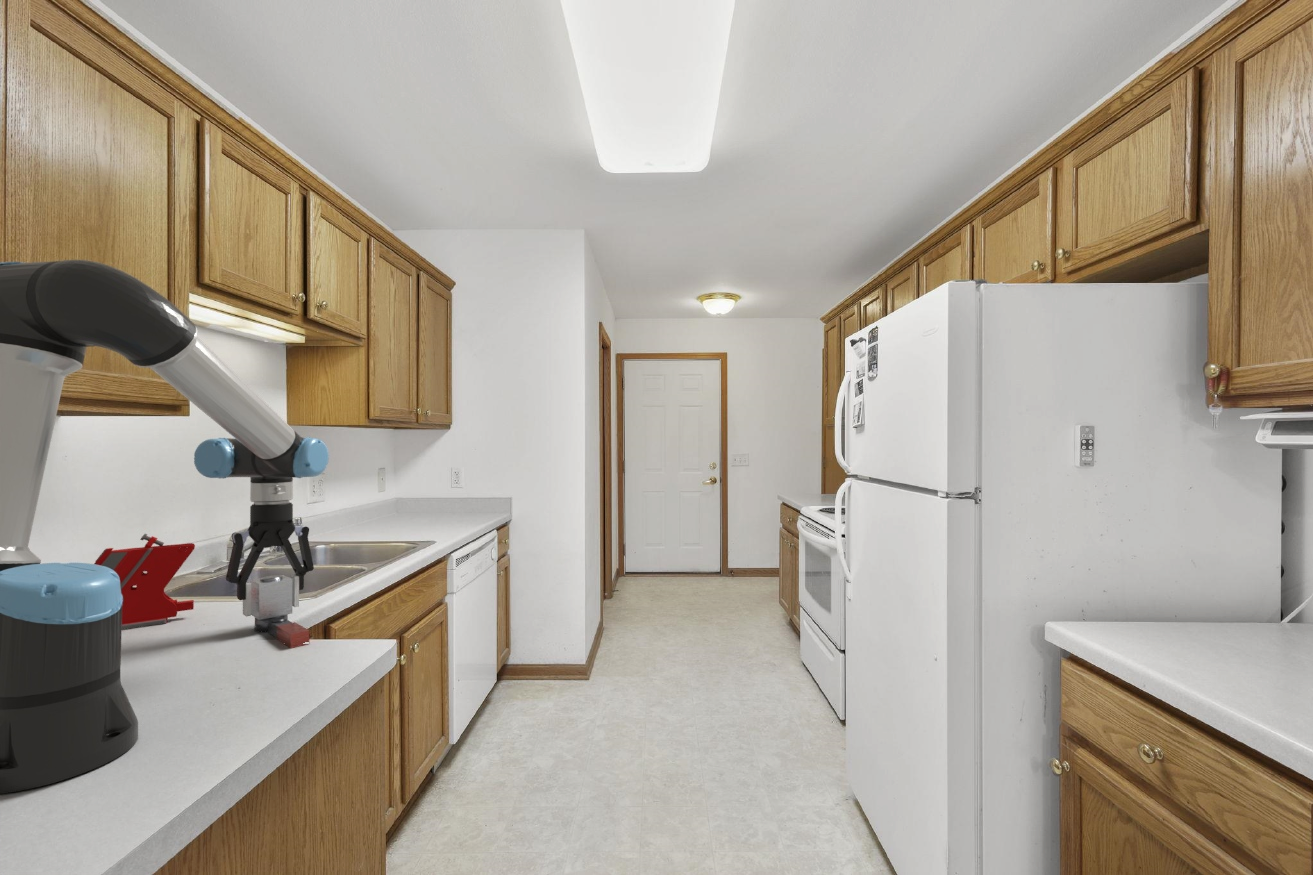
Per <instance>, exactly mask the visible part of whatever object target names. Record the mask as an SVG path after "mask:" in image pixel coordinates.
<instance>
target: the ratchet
mask: <svg viewBox="0 0 1313 875" xmlns="http://www.w3.org/2000/svg"><path fill="white" fill-rule="evenodd" d="M288 616H289V614H287V615H282V616H277V617H272V618H267V619H262V620H258V619H257V618H255V617H254V632H256V633H268V634H269V635H271V636H273V637H274V638H276V640H278V641H279V642H280V643H282V644H283V643H285V644H284V645H285V646H286V647H289V649H294V648H297V647H302V646H307V645H308V644H303V643H305V642H309V643H310V630H309V628H306V627H304V626H303V625H301V624H299V623H297V622H295V621H294V622H292V621H290V620H288V619H289V618H288Z"/></svg>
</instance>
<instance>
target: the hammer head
mask: <svg viewBox="0 0 1313 875" xmlns="http://www.w3.org/2000/svg"><path fill="white" fill-rule="evenodd" d="M249 583H250V584H251V616H252V617H254V619H255V618H257V619H258V620H262V619H267V618H272V617H277V616H282V615H287V614H288V615H292V614H293V606H292V578H291V577H289V576H286V575H284V574H276V575H267V576H262V577H258V578H252V579H250V582H249Z"/></svg>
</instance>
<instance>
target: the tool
mask: <svg viewBox="0 0 1313 875" xmlns="http://www.w3.org/2000/svg"><path fill="white" fill-rule="evenodd" d="M140 540H141V541H144V540H145V541H147V542H146V543H145V545H144V547H143V546H142V547H131V548H122V549H121V548H120V549H114V547H108V548H105V549H104V550H103V551H102V552H101V553H100V555H99V556H98V557H97V558H96V560H95V562H94V563H93V564H96V565H101V566H105V567H108V568H110V569H112V570H114V571H115V572H116V573H117V574H118V576H119V578H120V587H121V594H122V596H123V602H122V603H123V605H122V631H124V630H132V629H137V628H138V629H139V628H145V627H150V626H151V627H153V626H158V625H164V624H167V622H168V619H170V618H175V617H177V615H178V612H183V611H184V612H185V611H191V610H194V607H195V605H194V604H195V603H194V599H190V600H183V601H178V599H173V598H172V597H171V596H169V594H168V595H167V593H166V592H165V589H166V587H167V586H168V585H169V583H170V582H171V580H172V579H173V578H174V576H175V575H176V573H178V571H179V570H180V568H181V567H182V566H183V565H184V563H185V562H186V561H187V560H188V558H189V557H190V556H191V554H192V552H193V551H194V550H195V548H196V545H195V544H194V543H193V542H192V543H191V542H190V543H177V544H176V543H175V544H165V542H163V541H161V540H158V538H157V537H155V536H154V535H153V536H151V537H150V536H148V534H147V533H144V534H143V535H142V536H141V538H140ZM154 544H155V545H156V546H155V545H154ZM164 544H165V545H164ZM153 545H154V546H153ZM145 572H146V573H145Z"/></svg>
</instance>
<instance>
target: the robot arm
mask: <svg viewBox="0 0 1313 875" xmlns="http://www.w3.org/2000/svg"><path fill="white" fill-rule="evenodd" d="M87 347H98V348H103V349H107V350H110V351H113V352H116V353H117V354H118V355H119V354H120V355H121V356H122V357H124V358H125V359H126V360H127V361H129V362H130V363H131V364H133V365H134V366H136V367H139V368H150V369H151V370H152V371H153V372H155V373H156V374H157V375H158V376H160V378H162V379H163V380H164V381H165V382H166V383H167V384H169V385H170V386H171V387H172V388H174V389H175V390H176V391H178V393H180V394H181V395H182V396H184V398H186V399H187V400H188V401H189V402H191V403H192V404H193V405H194V406H195V407H197V408H198V409H199V410H200V411H202V412H203V413H205V414H206V416H207V417H209V418H210V419H211V420H212V421H214V422H215V423H216V424H217V425H219V426H220V427H221V428H222V429H223V430H224V431H226V432H227V433H228V434H229V435H231V436H232V437H233V438H231V437H230V438H226V437H218V438H210V439H206V440H204V441H202V442H201V443H199V445H197V447H196V449H195V451H194V453H193V454H194V455H193V456H194V457H193V459H194V461H193V463H194V467H195V469H196V470H197V472H198V473H199V474H200V475H202V476H204V477H206V478H209V479H226V478H250V479H249V480H250V490H249V491H250V492H249V494H250V496H249V501H250V502H251V503H253V504H251V505H250V508H249V513H250V514H249V519H250V520H249V521H250V522H249V527H248V528H247V530H244V531H241V532H236V531H235V532H233V533H232V534H231V539H232V548H231V552H230V557H229V561H228V567H227V570H226V571H227V572H226V575H225V581H227V582H228V583H231V584H236V598H237V599H238V600H239V601H242V615H243V616H245V617H251V616H252V615H251V584H250V582H248V581H249V578H250V577H251V574H252V572H253V570H254V568H255V566H256V564H257V562H258V560H259V557H260V556H261V553H263V551H264V549H267V548H271V547H280V549H282V551H283V553H284V555H285V557H286V559H287V560H288V562H289V564H290V566H291V568H292V570H293V572H294V574H290V578H292V608H299V607H300V591H303V590H304V588H305V586H304V585H305V575H307V573H309V572H312V571H313V570H314V569H315V567H314V564H313V563H314V561H313V557H312V552H311V547H310V542H309V533H310V527H308V526H305V525H300V526H299V525H298V526H297V525H296V526H295V524H294V522H293V519H294V518H293V517H294V513H293V512H294V510H293V509H294V504H293V503H292V502H290V501H292V500H293V498H294V497H293V496H294V494H293V492H294V490H293V489H294V485H293V483H294V482H293V480H294V479H293V478H297V479H301V478H312V477H317V476H320V475H321V474H323V472H324V471H325V470H326V468H327V465H328V463H329V458H330V457H329V456H330V455H329V449H328V447H327V445H326V444H325V442H324V441H322V440H321V439H318V438H316V437H315V438H313V437H308V436H307V437H302V436H301V435H300V434H299V433H298V432H296V430H294V429H293V428H292V427H291V425H289V424H288V423H287V422H286V421H285V420H284V419H283V418H282V417H281V416H280V415H279V414H278V413H277V412H276V411H275V410H274V409H273V408H272V407H271V406H269V404H267V403H266V402H265V401H264V399H262V397H260V396H259V395H258V393H256V392H255V391H254V390H253V389H252V388H251V387H250V386H249V385H248V384H247V383H246V382H245V381H244V380H243V379H242V378H240V376H239V375H238V374H236V373H235V371H234V370H232V368H230V367H229V366H228V365H227V364H226V363H225V362H224V361H223V360H222V359H221V358H220V357H219V356H218V355H217V354H216V353H215V352H214V351H213V350H211V348H210V347H208V346H207V345H206V344H205V343H204V341H202V340H201V339H200V338H199V337H198V328H197V326H196V325H195V323H194V322H193V321H192V320H191V319H190V318H189V317H188V316H187V315H186V314H185V313H183V312H182V311H181V310H180V309H179V308H178V307H177V306H176V305H175V304H173V303H172V302H171V301H170V300H169V299H168V298H166V297H164V296H163V295H162V294H160V293H159V292H158V291H156V290H155V289H153V288H152V287H151V286H149V285H147V284H146V283H144V282H143V281H141V280H139V279H138V278H137V277H135V276H133V275H131V274H129V273H127V272H125V271H123V270H121V269H118V268H117V267H113V266H111V265H108V264H105V263H102V262H98V261H94V260H93V261H92V260H85V259H64V260H55V261H54V260H53V261H36V262H34V261H33V262H31V261H30V262H22V261H2V262H0V794H8V792H9V793H15V792H20V791H27V790H31V789H36V788H40V787H42V786H47V785H50V784H51V785H52V784H54V783H55V784H56V783H57V782H61V781H65V780H68V779H70V778H72V777H78V776H79V775H82V774H84V773H87V772H89V771H92V770H94V769H97V768H99V767H102V766H103V765H106V764H108V763H109V762H111V761H113V760H115V759H117V758H119V757H121V756H122V755H123V754H125V753H126V752H128V751H129V750H131V748H133V746H134V745H136V743H137V741H138V739H139V720H138V717H137V715H136V713H135V711H134V709H133V706H132V704H131V702H130V700H129V697H128V696H127V693H126V692H125V689H124V687H123V685H122V682H121V679H122V678H121V664H122V631H123V630H122V605H123V603H122V602H123V596H122V594H121V587H120V578H119V576H118V574H117V573H116V572H115V571H114V570H112V569H110V568H108V567H105V566H101V565H96V564H94V563H87V562H65V563H62V562H45V563H41V561H42V559H41V558H39V557H38V556H37V555H36V554H34V552H32V551H31V550H30V548H29V543H30V537H31V534H32V529H33V525H34V520H35V515H36V511H37V506H38V501H39V497H40V493H41V487H42V482H43V478H44V474H45V470H46V464H47V460H48V454H49V451H50V446H51V441H52V437H53V431H54V429H55V428H54V427H55V422H56V418H57V414H58V409H59V404H60V399H61V395H62V392H63V391H62V390H63V386H64V381H65V379H66V377H68V376H70V375H71V374H74V373H76V372H78V371H81V370H82V369H83V365H84V360H85V357H86V356H85V355H86V351H87ZM293 533H295V536H297V540H298V544H299V546H298V547H299V550H300V556H301V561H302V564H301V562H300V560H299V558H298V556H297V554H296V552H295V551H294V549H293V547H292V546H293V545H292V544H291V542H290V540H289V538H290V537H291V536H292V534H293ZM248 537H250V538H251V540H252V541H253V544H252V546H251V548H250V552H249V553H248V556H247V557H246V559H245V562H244V563H243V565H242V568H241V570H240V566H241V565H240V564H241V560H242V555H243V550H244V543H245V542H247V538H248ZM302 565H303V566H302ZM239 570H240V571H239ZM238 573H239V574H238Z"/></svg>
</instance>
